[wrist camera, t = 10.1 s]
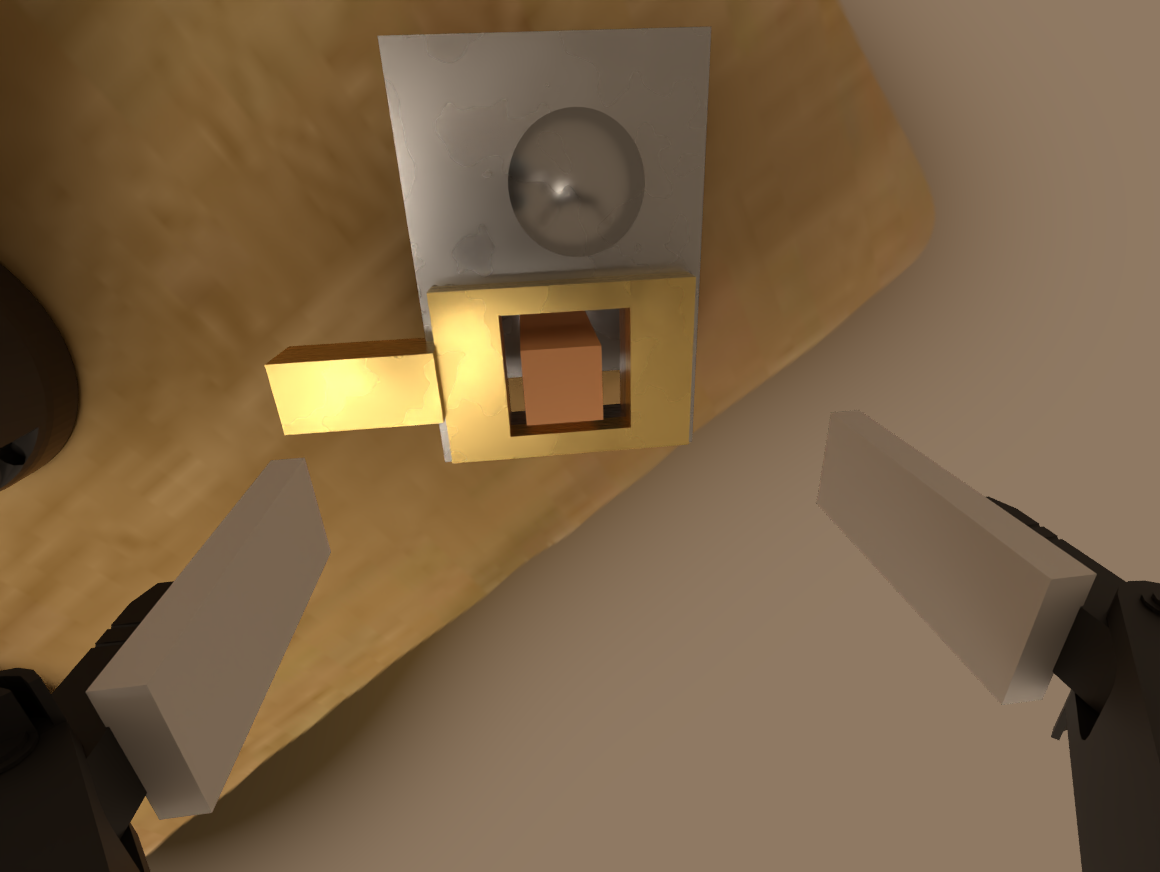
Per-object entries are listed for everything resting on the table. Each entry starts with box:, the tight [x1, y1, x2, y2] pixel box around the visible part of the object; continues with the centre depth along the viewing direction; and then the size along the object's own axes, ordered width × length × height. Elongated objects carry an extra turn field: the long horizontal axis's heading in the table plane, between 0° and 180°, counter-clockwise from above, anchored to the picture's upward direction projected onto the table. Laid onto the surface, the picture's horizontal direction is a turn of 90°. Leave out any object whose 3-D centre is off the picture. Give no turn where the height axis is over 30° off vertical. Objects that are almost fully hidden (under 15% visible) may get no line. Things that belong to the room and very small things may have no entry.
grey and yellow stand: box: [265, 27, 711, 464], centre depth 22 cm, size 18×16×17 cm
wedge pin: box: [520, 311, 603, 426], centre depth 26 cm, size 3×3×10 cm
